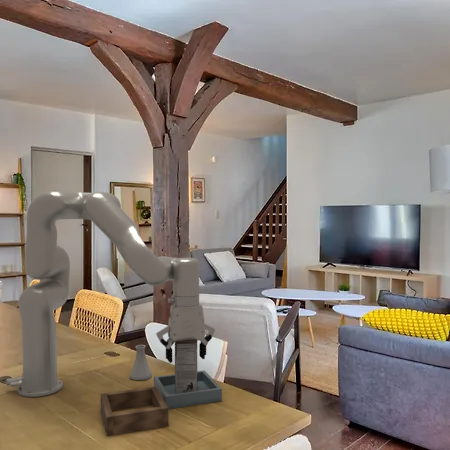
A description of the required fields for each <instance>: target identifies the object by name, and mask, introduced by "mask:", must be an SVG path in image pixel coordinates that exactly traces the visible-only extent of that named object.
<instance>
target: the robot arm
mask: <svg viewBox="0 0 450 450" xmlns="http://www.w3.org/2000/svg"><path fill="white" fill-rule="evenodd" d="M58 220H90V221H91V222H92V223H93V224H94V225H95V226H96V227H97V229H99V230H100V231H101V232H102V233H103V234H104V235H105V236H106V237H107V238H108V239H109V240H110V241H111V243H112V244H113V245H114V246H115V247H116V250H117V251H118V253H119V255H120V256H121V258H122V260H123V261H124V262H125V263H126V265H127V266H128V267H129V269H131V271H133V272H134V273H135V274H136V276H137V277H139V278H140V280H142V281H143V282H144V283H146V284H147V285H149V286H153V287H159V286H162V285H164V284H165V283H166V282H169V281H172V292H173V293H172V295H171V297H168V300H167V302H168V303H171V304H172V305H170V310H169V314H168V324H167V326H166V327H164V328H162V329H161V330H159V331H158V332H156V333H155V335H156V337H157V339H158V341H159V342H160V343H161V345H162V346H164V347H165V359H166V360H167V361H168V363H173V348H172V347H173V346H174V345H175V341H180V340H194V339H197V342H198V341H200V342H199V345H198V347H199V350H198V351H199V352H198V353H199V357H200V358H201V359H202V360H205V359H206V355H207V345H208V343H209V342H210V341H211V340H212V338H213V336H214V334H215V332H216V329H215V328H214V327H212V326H210V325H209V324H206V323H205V315H204V309H203V305H202V304H200V262H199V259H197V258H195V257H170V256H167V255H166V256H164V255H161V256H157V255H155V254H154V253H153V252H152V251H151V249H150V248H149V247H148V246H147V245H146V243H145V242H144V241H143V239H142V237H141V234H140V230H139V226H138V224H137V223H136V222H135V221H134V220H132V218H131V217H130V216H129V215H127V213H126V212H125V211H124V210H123V209H122V205H121V201H120V199H119V198H118V197H117V196H116V195H115V194H114V193H110V192H104V191H103V192H102V191H98V192H97V191H95V192H80V191H67V190H56V189H55V190H49V191H45V192H43V193H40V194H39V195H37V196H36V197H35V198H34V199H33V200H32V201H31V203H30V204H29V206H28V208H27V212H26V238H25V252H24V253H25V258H24V269H25V273H26V274H27V276H28V277H29V278H30V279H33V280H37V281H38V280H39V282H38V283H34V284H32V285H30V286H28V287H26V288H25V289H24V290H23V291H22V292H21V294H20V295H19V298H18V312H19V316H20V323H21V338H22V343H21V345H22V373H21V375H18V377H14V378H13V377H11V378H6V386H10V388H13V387H14V388H15V387H17V388H16V389H17V393H18V394H19V396H22V397H26V398H27V397H28V398H32V397H33V398H36V397H37V398H38V397H44V396H49V395H52V394H55V393H57V392H58V391H59V392H60V390H61V389H63V384H64V383H63V381H62V380H61V379H59V378H58V348H57V347H58V344H57V343H58V340H57V339H58V338H57V337H58V336H57V323H56V320H55V319H56V318H55V316H54V315H55V314H54V311H55V310H59V308H62V306H64V305H65V303H66V302H67V300H68V296H69V291H70V290H69V289H70V272H71V268H70V267H71V262H70V256H69V254H68V253H67V251H66V250H65V249H64V248H63V247H61V246H59V245H58V244H57V241H58V231H57V226H56V222H57V221H58ZM206 330H207V331H208V332H207V334H206ZM166 334H167V335H168V336H167V337H168V338H167V340H165V338H164V335H166Z"/></svg>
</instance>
